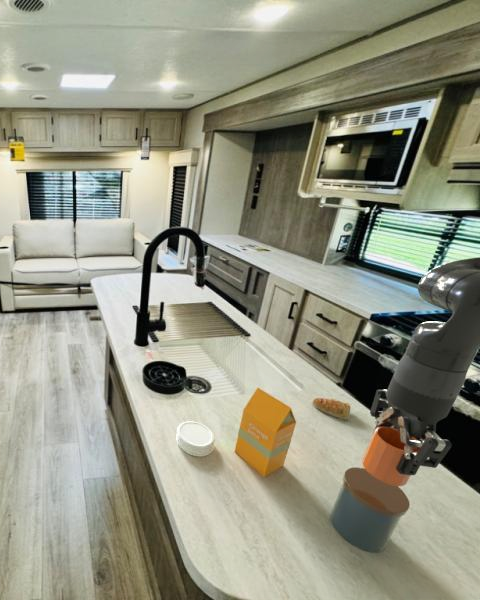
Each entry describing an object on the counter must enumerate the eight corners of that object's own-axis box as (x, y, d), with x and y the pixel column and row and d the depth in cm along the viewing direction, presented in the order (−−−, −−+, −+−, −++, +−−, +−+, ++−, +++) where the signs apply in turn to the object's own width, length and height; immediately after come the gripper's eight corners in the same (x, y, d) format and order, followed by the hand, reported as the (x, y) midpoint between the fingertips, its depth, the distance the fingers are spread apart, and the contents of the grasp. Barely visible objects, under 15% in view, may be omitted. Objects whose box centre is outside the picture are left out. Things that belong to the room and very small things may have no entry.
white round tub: (221, 451, 85) (223, 442, 84) (190, 461, 82) (191, 451, 81) (197, 426, 94) (199, 417, 92) (169, 434, 91) (170, 425, 90)
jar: (369, 511, 69) (387, 471, 65) (399, 559, 61) (423, 517, 56) (320, 502, 71) (335, 463, 67) (342, 548, 63) (361, 506, 58)
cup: (392, 460, 62) (406, 428, 59) (416, 489, 56) (433, 456, 53) (354, 454, 63) (367, 424, 60) (374, 482, 57) (389, 450, 55)
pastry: (311, 410, 99) (314, 401, 98) (311, 399, 104) (314, 389, 103) (349, 422, 94) (353, 412, 93) (347, 409, 99) (351, 400, 98)
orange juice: (253, 441, 88) (267, 383, 81) (283, 465, 80) (302, 403, 73) (233, 451, 85) (246, 391, 78) (263, 477, 77) (281, 414, 70)
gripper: (494, 416, 45) (447, 496, 51) (418, 362, 58) (388, 431, 64) (431, 408, 47) (393, 487, 53) (371, 358, 60) (346, 426, 66)
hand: (390, 456), depth 58 cm, fingers closed on cup, 6 cm apart
